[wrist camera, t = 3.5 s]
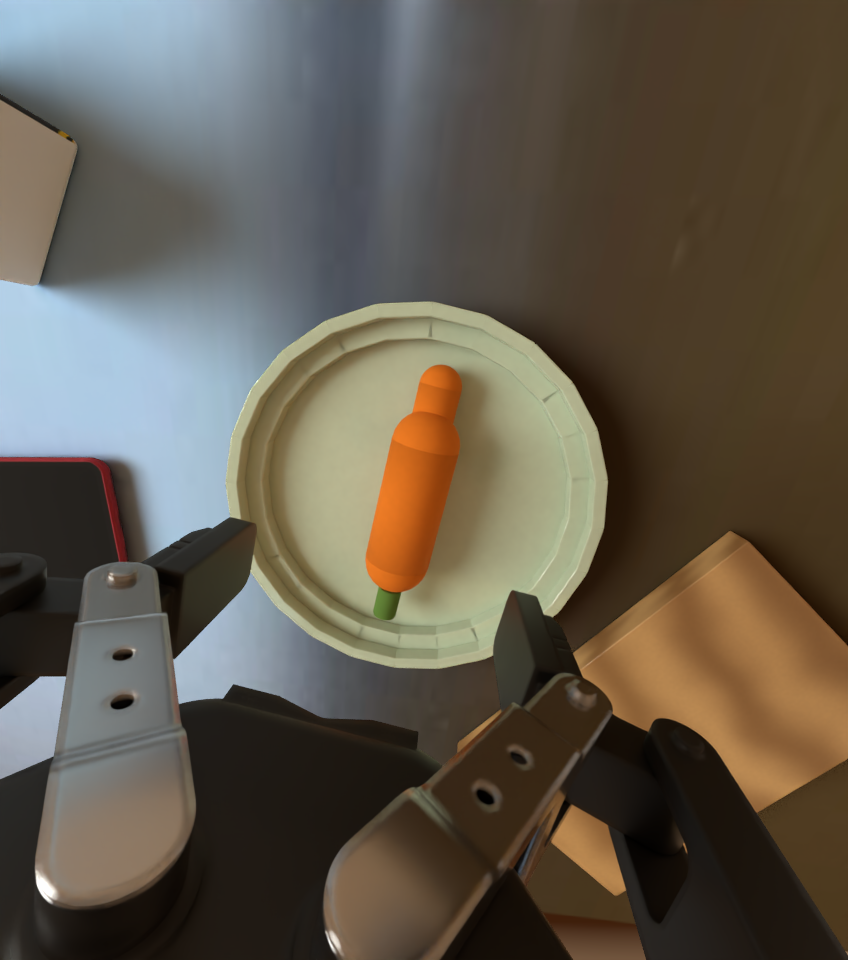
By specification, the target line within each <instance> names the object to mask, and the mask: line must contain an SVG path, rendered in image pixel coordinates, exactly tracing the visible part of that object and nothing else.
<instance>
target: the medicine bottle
mask: <svg viewBox="0 0 848 960" xmlns="http://www.w3.org/2000/svg"><path fill="white" fill-rule="evenodd" d="M76 153H77V144H76V142H75V141H74V140H73V139H72V138H71V137H70V136H69V135H67V134H66V133H64V132H62V131H61V130H59V129H57V128H56V127H54V126H52V125H51V124H49V123H47V122H46V121H44V120H42V119H41V118H39V117H38V116H36V115H34V114H33V113H31V112H29V111H28V110H26V109H24V108H23V107H21V106H19V105H18V104H16V103H14V102H13V101H11V100H9V99H8V98H6V97H5V96H3V95H1V94H0V280H5V281H10V282H15V283H20V284H25V285H30V286H34V285H38V283H39V282H40V278H41V275H42V271H43V268H44V264H45V261H46V257H47V254H48V250H49V247H50V243H51V240H52V236H53V233H54V229H55V226H56V222H57V219H58V215H59V212H60V208H61V205H62V202H63V198H64V195H65V191H66V188H67V184H68V181H69V177H70V174H71V170H72V167H73V163H74V160H75V156H76Z"/></svg>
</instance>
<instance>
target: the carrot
mask: <svg viewBox="0 0 848 960" xmlns="http://www.w3.org/2000/svg"><path fill="white" fill-rule="evenodd" d="M461 392H462V381H461V378H460V376H459V374H458V373H457V372H456V371H455V370H454V369H453V368H451V367H450V366H447V365H442V364H441V365H434V366H432V367H430V368H428V369H427V370H426V371H425V372H424V373H423V375H422V376H421V379H420V382H419V386H418V390H417V394H416V399H415V403H414V407H413V412H412V413H411V414H409V415H407V416H406V417H405V418H403V419H402V420H401V421H400V422H399V424H398V425H397V427H396V428H395V430H394V433H393V436H392V439H391V444H390V448H389V453H388V457H387V462H386V466H385V471H384V475H383V480H382V484H381V489H380V493H379V498H378V502H377V507H376V511H375V516H374V520H373V524H372V529H371V533H370V538H369V542H368V547H367V551H366V558H365V561H366V569H367V572H368V574H369V576H370V578H371V579H372V581H373V582H374V583H375V584H376V585H378V586H379V588H378V592H377V596H376V600H375V605H374V609H373V613H374V615H375V616H376V617H377V618H379V619H381V620H392V619H394V617H395V616H396V612H397V608H398V604H399V600H400V596H401V592H404V591H408V590H410V589H412V588H414V587H415V586H417V585H418V584H419V583H420V582H421V581H422V580H423V578H424V577H425V575H426V572H427V570H428V567H429V563H430V560H431V556H432V552H433V548H434V545H435V541H436V537H437V534H438V530H439V526H440V522H441V519H442V515H443V511H444V507H445V504H446V500H447V496H448V493H449V489H450V485H451V481H452V478H453V474H454V470H455V466H456V463H457V459H458V455H459V450H460V439H459V435H458V432H457V430H456V428H455V426H454V425H453V423H454V419H455V415H456V411H457V407H458V403H459V400H460V396H461Z"/></svg>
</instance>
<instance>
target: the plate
mask: <svg viewBox="0 0 848 960" xmlns="http://www.w3.org/2000/svg"><path fill="white" fill-rule="evenodd" d="M441 364H442V365H447V366H450V367H451V368H453V369H454V370H455V371H456V372H457V373H458V374H459V376H460V378H461V381H462V392H461V396H460V400H459V403H458V407H457V411H456V415H455V419H454V423H453V425H454V426H455V428H456V430H457V432H458V435H459V439H460V450H459V455H458V459H457V463H456V466H455V470H454V474H453V478H452V481H451V485H450V489H449V493H448V496H447V500H446V504H445V507H444V511H443V515H442V519H441V522H440V526H439V530H438V534H437V537H436V541H435V545H434V548H433V552H432V556H431V560H430V563H429V567H428V570H427V572H426V575H425V577H424V578H423V580H422V581H421V582H420V583H419V584H418V585H417V586H415V587H414V588H412V589H410V590H408V591H404V592H401V596H400V600H399V604H398V608H397V612H396V616H395V617H394V619H392V620H381V619H379V618H377V617H376V616H375V615H374V613H373V609H374V605H375V600H376V596H377V592H378V588H379V586H378V585H376V584H375V583H374V582H373V581H372V579H371V578H370V576H369V574H368V572H367V569H366V561H365V558H366V551H367V547H368V542H369V538H370V533H371V529H372V524H373V520H374V516H375V511H376V507H377V502H378V498H379V493H380V489H381V484H382V480H383V475H384V471H385V466H386V462H387V457H388V453H389V448H390V444H391V439H392V436H393V433H394V430H395V428H396V427H397V425H398V424H399V422H400V421H401V420H402V419H403V418H405V417H406V416H407V415H409V414H411V413H412V412H413V407H414V403H415V399H416V394H417V390H418V386H419V382H420V379H421V376H422V375H423V373H424V372H425V371H426V370H427V369H428V368H430V367H432V366H434V365H441ZM607 489H608V477H607V472H606V467H605V462H604V457H603V452H602V447H601V442H600V437H599V432H598V429H597V427H596V425H595V423H594V421H593V419H592V417H591V415H590V413H589V411H588V409H587V407H586V406H585V404H584V402H583V400H582V398H581V396H580V394H579V392H578V390H577V388H576V386H575V385H574V383H573V382H572V381H571V380H570V379H569V377H568V376H567V375H566V374H565V373H564V372H563V371H562V370H561V369H560V368H559V367H558V366H557V365H556V364H555V363H554V362H553V361H552V360H551V359H550V358H549V357H548V356H547V355H546V353H545V352H544V351H543V350H542V349H541V348H540V347H539V346H538V345H537V344H535V342H533V341H531V340H529V339H528V338H526V337H524V336H523V335H521V334H519V333H517V332H516V331H514V330H512V329H510V328H509V327H507V326H505V325H504V324H502V323H500V322H498V321H497V320H495V319H493V318H491V317H490V316H487V315H485V314H481V313H477V312H473V311H469V310H465V309H461V308H457V307H453V306H449V305H445V304H441V303H437V302H431V301H430V302H404V303H378V304H374V305H371V306H368V307H365V308H362V309H359V310H356V311H353V312H350V313H347V314H344V315H341V316H338V317H335V318H332V319H329V320H326V321H324V322H322V323H321V324H320V325H318V326H317V327H315V328H314V329H312V330H311V331H309V332H308V333H307V334H305V335H304V336H302V337H301V338H299V339H298V340H296V341H295V342H294V343H292V344H291V345H289V346H288V347H286V348H285V349H284V350H283V351H281V352H280V354H279V355H278V356H277V357H276V359H275V360H274V361H273V362H272V364H271V365H270V366H269V367H268V369H267V370H266V371H265V372H264V373H263V375H262V376H261V377H260V378H259V380H258V381H257V382H256V383H255V385H254V386H253V387H252V388H251V391H250V392H249V394H248V397H247V399H246V402H245V404H244V406H243V409H242V411H241V413H240V416H239V418H238V421H237V423H236V425H235V428H234V430H233V433H232V436H231V442H230V450H229V458H228V466H227V474H226V490H227V497H228V504H229V511H230V517H233V518H237V519H241V520H245V521H249V522H252V523H255V524H256V526H257V533H256V540H255V546H254V552H253V559H252V565H251V571H250V572H251V573H252V575H253V576H254V577H255V579H256V580H257V581H258V583H259V584H260V585H261V587H262V588H263V590H264V591H265V592H266V594H267V595H268V596H269V598H270V599H271V600H272V602H273V603H274V604H275V606H276V607H278V609H280V610H281V611H282V612H283V613H284V614H285V615H287V616H288V617H289V618H290V619H291V620H293V621H294V622H295V623H296V624H297V625H299V626H300V627H301V628H302V629H303V630H304V631H306V632H307V633H308V634H309V635H312V637H314V638H316V639H318V640H320V641H322V642H323V643H325V644H327V645H329V646H331V647H333V648H335V649H337V650H339V651H341V652H343V653H345V654H347V655H349V656H352V657H355V658H359V659H362V660H366V661H370V662H374V663H378V664H382V665H386V666H390V667H395V668H425V669H439V668H440V669H441V668H446V667H451V666H456V665H460V664H465V663H470V662H475V661H480V660H484V659H486V658H488V657H491V656H493V645H494V639H495V635H496V632H497V629H498V626H499V623H500V620H501V617H502V614H503V611H504V608H505V605H506V602H507V599H508V596H509V594H510V592H511V591H512V590H515V591H519V592H523V593H527V594H530V595H534V596H537V598H538V600H539V603H540V606H541V608H542V611H543V614H544V615H548V616H551V617H552V618H553V617H554V616H555V615H556V614H557V613H559V611H560V610H561V609H562V608H563V606H564V605H565V604H566V602H567V601H568V600H569V598H570V597H571V595H572V594H573V593H574V591H575V590H576V589H577V587H578V586H579V584H580V583H581V582H582V580H583V579H584V578H585V576H586V573H588V570H589V568H590V565H591V562H592V560H593V557H594V554H595V552H596V549H597V546H598V544H599V541H600V538H601V536H602V533H603V529H604V524H605V513H606V501H607Z"/></svg>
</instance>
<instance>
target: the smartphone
mask: <svg viewBox="0 0 848 960" xmlns="http://www.w3.org/2000/svg"><path fill="white" fill-rule="evenodd" d="M0 553H28V554H34V555H37V556H40V557H42V558H43V559H45V561H46V562H47V577H56V578H72V579H84V577H85V576H86V574H87V573H88V572H89V571H91V570H93V569H94V568H97V567H99V566H102V565H105V564H109V563H115V562H129V561H128V556H127V551H126V546H125V541H124V536H123V531H122V526H121V521H120V516H119V511H118V506H117V500H116V495H115V490H114V485H113V480H112V475H111V471H110V469H109V467H108V466H107V465H106V464H105V463H104V462H103V461H101V460H99V459H95V458H85V457H0Z"/></svg>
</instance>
